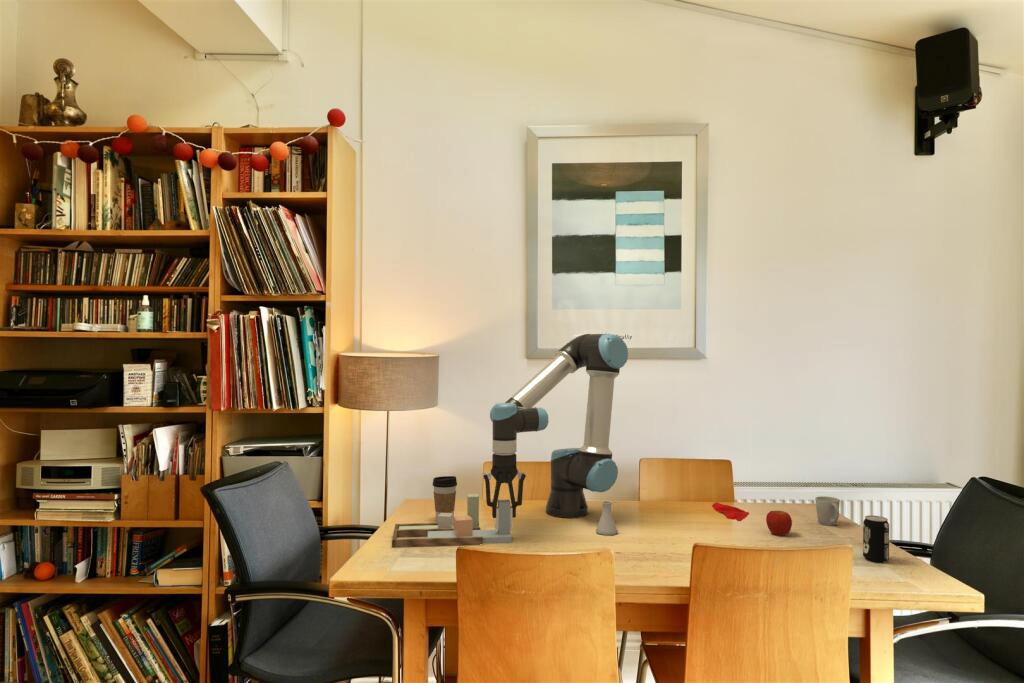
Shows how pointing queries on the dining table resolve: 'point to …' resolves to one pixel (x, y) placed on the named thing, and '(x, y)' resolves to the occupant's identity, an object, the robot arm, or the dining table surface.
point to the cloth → (730, 511)
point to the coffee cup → (444, 494)
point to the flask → (606, 521)
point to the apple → (779, 522)
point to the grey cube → (445, 520)
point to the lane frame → (429, 541)
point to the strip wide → (488, 535)
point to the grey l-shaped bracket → (471, 511)
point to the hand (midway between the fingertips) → (503, 527)
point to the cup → (827, 510)
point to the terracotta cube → (462, 526)
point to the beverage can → (876, 539)
